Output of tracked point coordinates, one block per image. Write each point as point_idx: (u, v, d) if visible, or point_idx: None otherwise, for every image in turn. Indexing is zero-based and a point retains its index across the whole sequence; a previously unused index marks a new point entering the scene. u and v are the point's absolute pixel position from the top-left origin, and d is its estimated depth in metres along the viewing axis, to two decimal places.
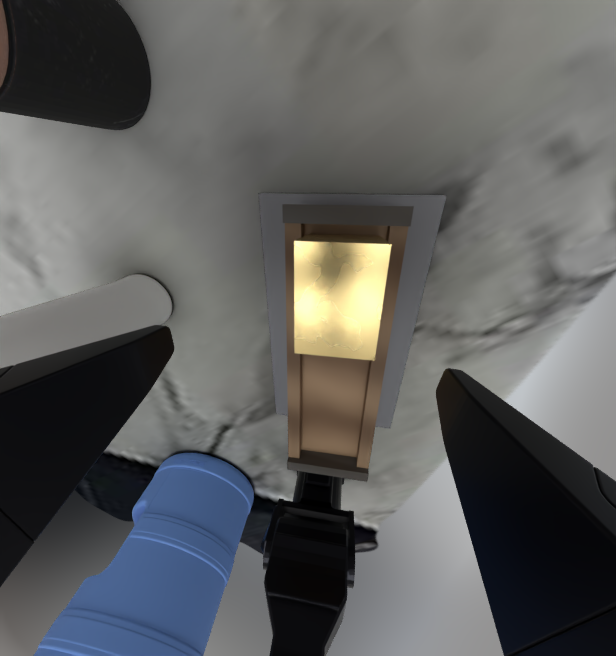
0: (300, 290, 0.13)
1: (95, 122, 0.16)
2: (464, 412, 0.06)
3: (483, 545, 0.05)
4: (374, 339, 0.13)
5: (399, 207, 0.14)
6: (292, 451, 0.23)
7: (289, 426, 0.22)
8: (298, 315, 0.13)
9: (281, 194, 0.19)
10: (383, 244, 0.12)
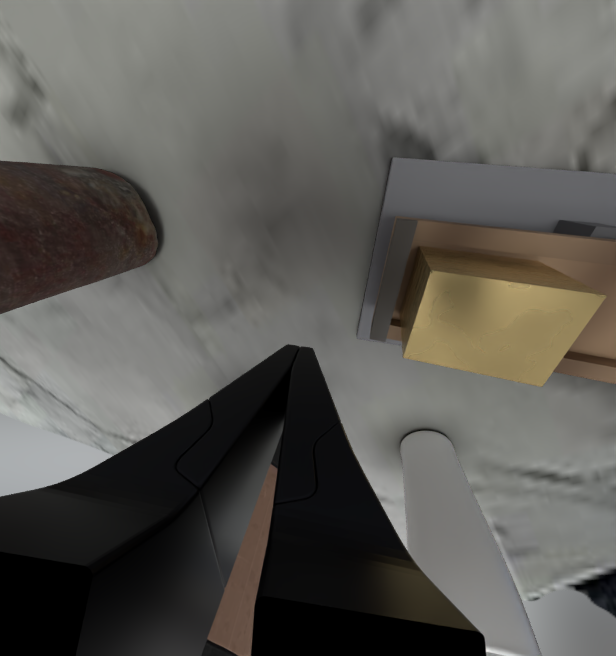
0: (457, 363, 0.12)
1: None
2: None
3: None
4: (564, 293, 0.10)
5: (395, 234, 0.13)
6: None
7: None
8: (487, 371, 0.12)
9: (361, 321, 0.21)
10: (429, 277, 0.11)
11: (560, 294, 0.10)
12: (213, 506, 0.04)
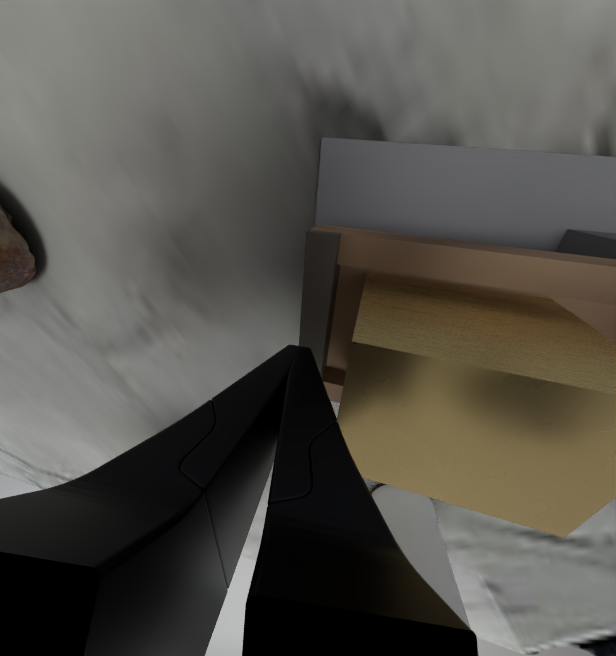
0: (415, 485, 0.07)
1: None
2: None
3: None
4: None
5: (306, 256, 0.08)
6: None
7: None
8: (468, 503, 0.07)
9: None
10: None
11: (612, 403, 0.05)
12: (217, 507, 0.04)
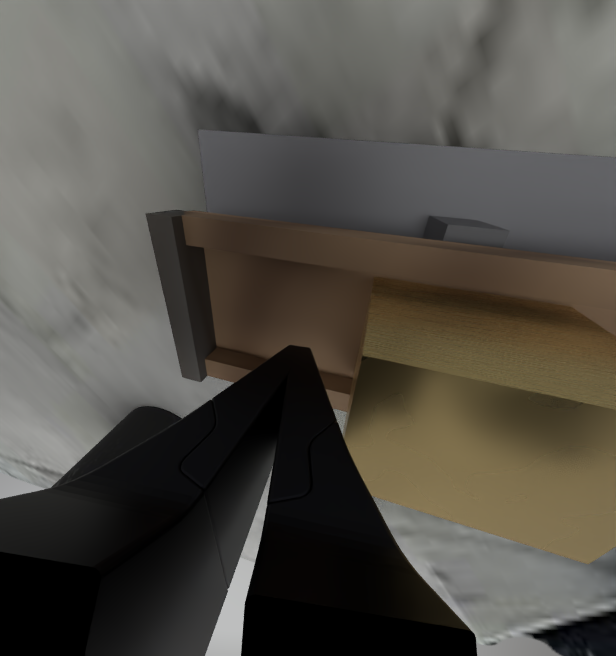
0: (427, 505, 0.06)
1: None
2: None
3: None
4: None
5: (152, 236, 0.09)
6: None
7: None
8: (484, 526, 0.06)
9: None
10: (361, 365, 0.05)
11: None
12: (217, 507, 0.04)
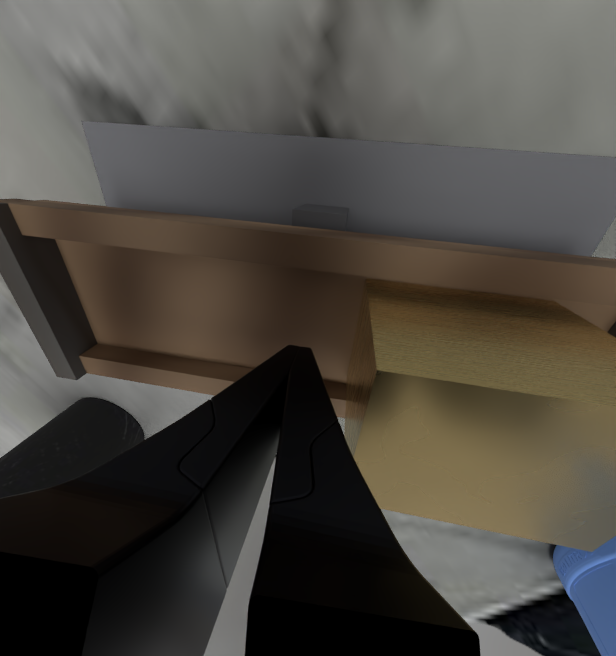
0: (438, 513, 0.06)
1: (115, 453, 0.22)
2: None
3: None
4: None
5: None
6: None
7: None
8: (495, 527, 0.06)
9: None
10: (374, 379, 0.05)
11: None
12: (216, 507, 0.04)
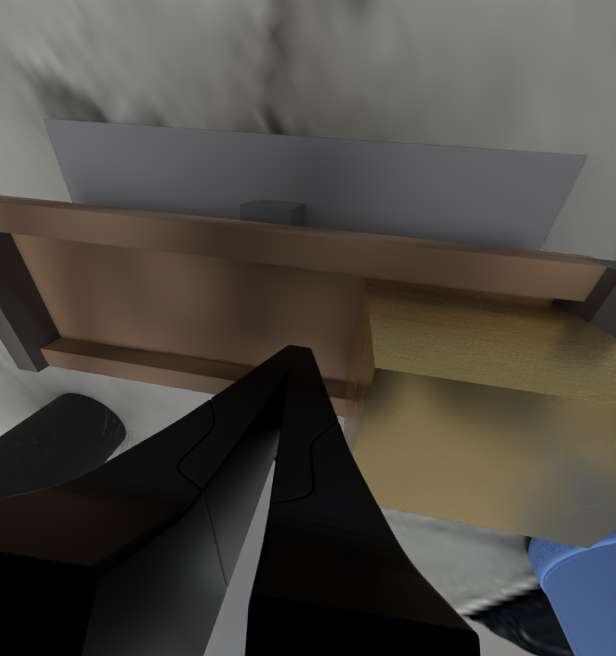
0: (437, 510, 0.06)
1: (94, 448, 0.22)
2: None
3: None
4: None
5: None
6: None
7: None
8: (492, 524, 0.06)
9: None
10: (372, 377, 0.05)
11: None
12: (216, 506, 0.04)
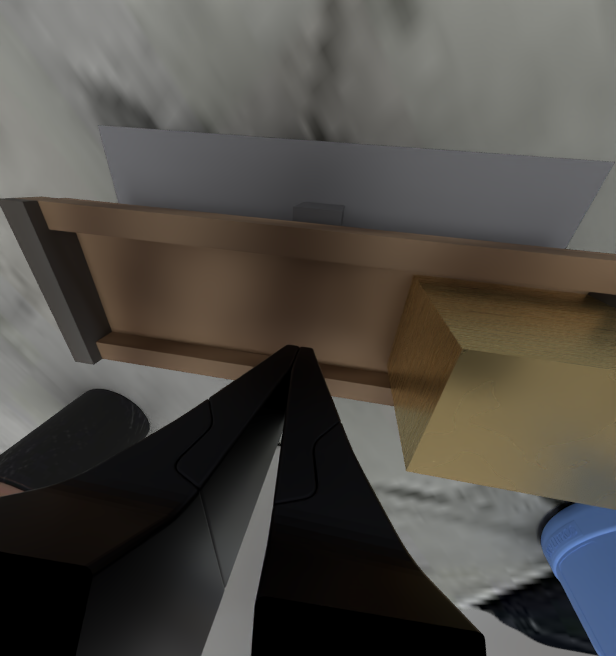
0: (495, 480, 0.07)
1: (123, 442, 0.23)
2: None
3: None
4: None
5: (9, 221, 0.09)
6: None
7: None
8: (545, 492, 0.07)
9: None
10: (456, 358, 0.06)
11: None
12: (213, 506, 0.04)
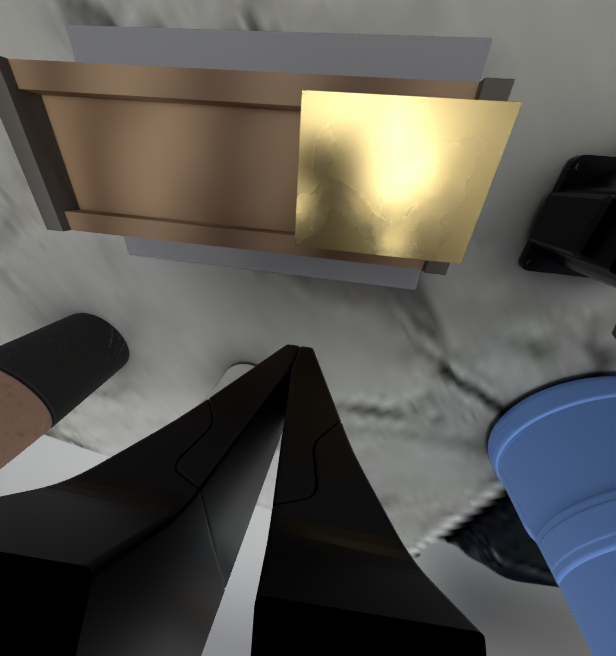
0: (359, 243, 0.09)
1: (101, 356, 0.25)
2: None
3: None
4: (470, 107, 0.07)
5: None
6: (408, 260, 0.13)
7: (350, 259, 0.14)
8: (396, 250, 0.09)
9: None
10: (302, 106, 0.08)
11: (466, 108, 0.07)
12: (213, 506, 0.04)
